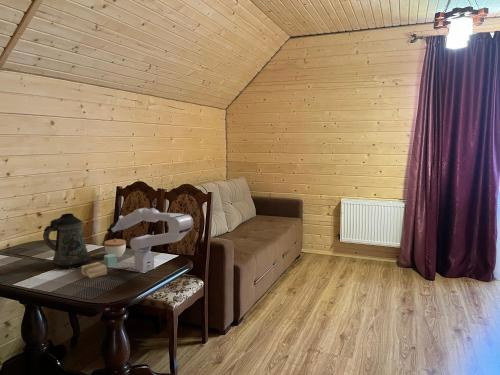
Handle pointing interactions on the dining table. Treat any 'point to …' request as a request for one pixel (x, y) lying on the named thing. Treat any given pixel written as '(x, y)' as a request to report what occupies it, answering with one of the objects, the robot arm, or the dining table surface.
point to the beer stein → (67, 242)
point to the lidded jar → (115, 247)
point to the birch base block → (94, 270)
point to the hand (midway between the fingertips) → (113, 227)
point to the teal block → (110, 260)
